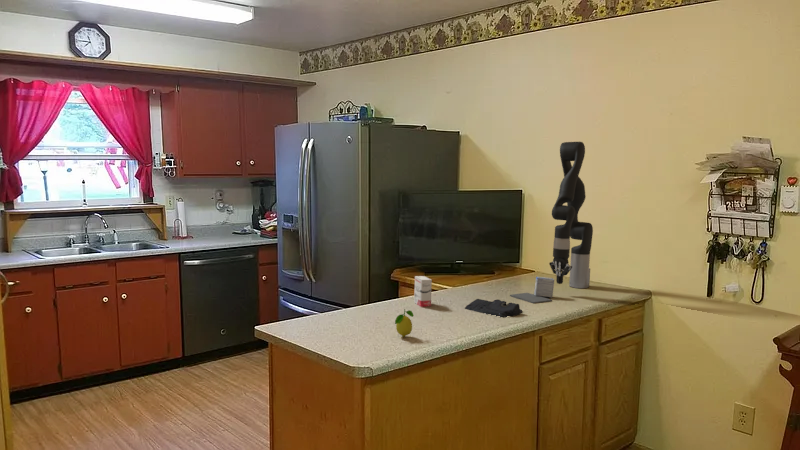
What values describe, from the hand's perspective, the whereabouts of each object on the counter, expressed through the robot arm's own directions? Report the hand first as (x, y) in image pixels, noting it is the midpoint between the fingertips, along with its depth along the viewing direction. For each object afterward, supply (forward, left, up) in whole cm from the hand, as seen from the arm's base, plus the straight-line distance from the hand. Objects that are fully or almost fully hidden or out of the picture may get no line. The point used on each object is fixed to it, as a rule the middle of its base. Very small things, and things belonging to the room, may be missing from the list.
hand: (559, 283), depth 274 cm
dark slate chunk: (+48, +10, -6) cm, 49 cm away
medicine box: (+10, 0, -5) cm, 11 cm away
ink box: (+70, -11, -6) cm, 71 cm away
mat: (+18, 0, -6) cm, 19 cm away
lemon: (+101, +26, -6) cm, 104 cm away
